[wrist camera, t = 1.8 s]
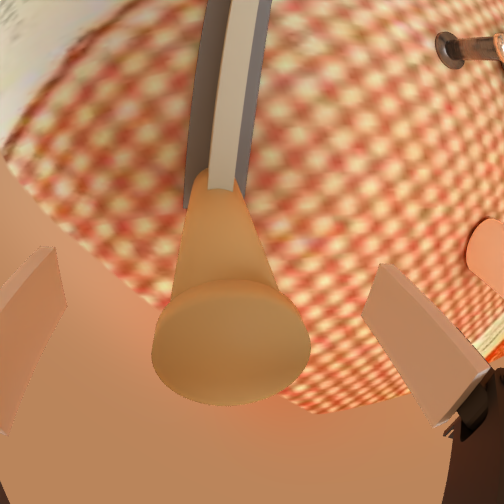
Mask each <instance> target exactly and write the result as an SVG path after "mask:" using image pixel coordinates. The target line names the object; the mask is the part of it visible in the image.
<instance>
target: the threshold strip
mask: <svg viewBox="0 0 504 504" xmlns="http://www.w3.org/2000/svg"><path fill="white" fill-rule="evenodd" d="M271 3H272V0H259V4H258V10H257V17H256V23H255V29H254V36H253V42H252V49H251V56H250V62H249V69H248V76H247V83H246V90H245V98H244V105H243V113H242V120H241V128H240V136H239V144H238V152H237V160H236V169H235V179H236V181H237V183H238V186H239V189H240V191H241V194H242V196H243V199H244V196H245V188H246V181H247V173H248V165H249V157H250V150H251V142H252V135H253V127H254V120H255V112H256V105H257V98H258V91H259V84H260V77H261V70H262V63H263V56H264V49H265V42H266V36H267V29H268V22H269V16H270V9H271ZM230 4H231V0H208V3H207V8H206V13H205V19H204V24H203V30H202V35H201V41H200V48H199V54H198V60H197V67H196V74H195V82H194V89H193V97H192V106H191V114H190V124H189V134H188V145H187V156H186V169H185V183H184V200H183V208H186V209H188V204H189V200H190V195H191V191H192V186H193V182H194V180H195V178H196V176H197V175H198V174H199V173H200V172H201V171H203V170H204V169H206V168H208V164H209V154H210V144H211V135H212V126H213V117H214V109H215V101H216V93H217V86H218V79H219V71H220V65H221V58H222V51H223V45H224V39H225V33H226V27H227V21H228V15H229V9H230Z"/></svg>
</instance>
